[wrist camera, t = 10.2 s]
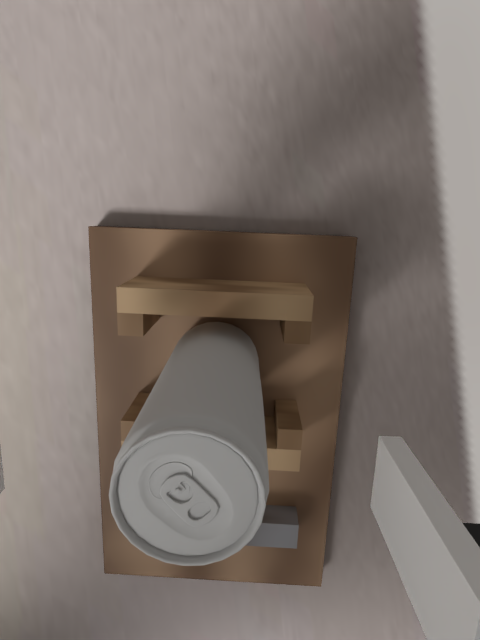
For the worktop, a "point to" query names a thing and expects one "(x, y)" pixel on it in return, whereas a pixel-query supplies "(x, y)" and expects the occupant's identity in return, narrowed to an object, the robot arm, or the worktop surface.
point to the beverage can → (196, 453)
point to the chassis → (274, 365)
